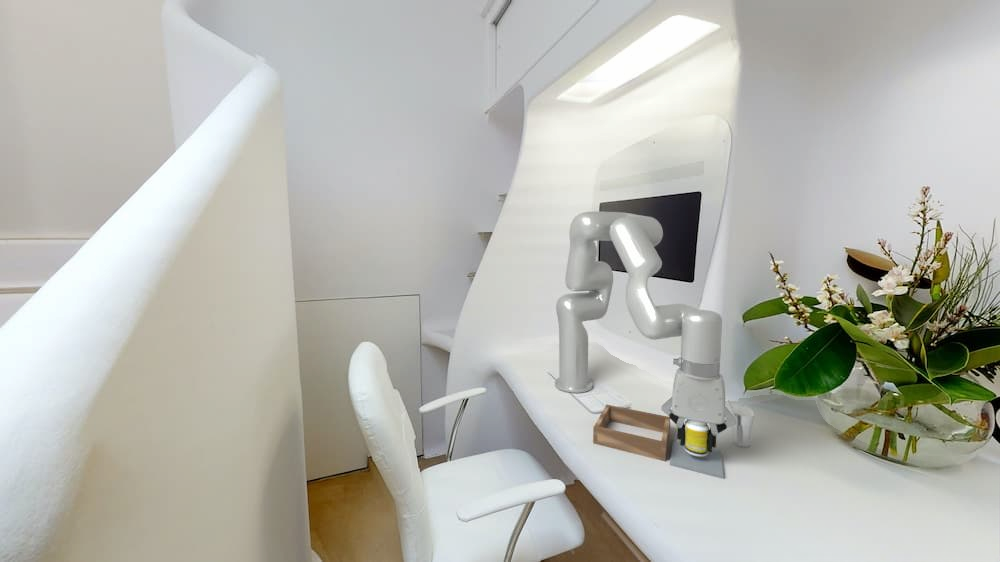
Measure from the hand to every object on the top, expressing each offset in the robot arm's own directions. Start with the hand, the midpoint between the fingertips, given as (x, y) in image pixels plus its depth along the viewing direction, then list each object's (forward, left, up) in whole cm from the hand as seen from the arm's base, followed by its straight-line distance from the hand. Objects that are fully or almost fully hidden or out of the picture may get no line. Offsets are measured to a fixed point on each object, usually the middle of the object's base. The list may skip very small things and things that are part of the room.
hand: (695, 445), depth 81 cm
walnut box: (-3, -14, -3) cm, 14 cm away
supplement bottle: (0, 0, -2) cm, 2 cm away
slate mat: (0, 0, -3) cm, 3 cm away
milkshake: (-12, +9, -3) cm, 15 cm away
